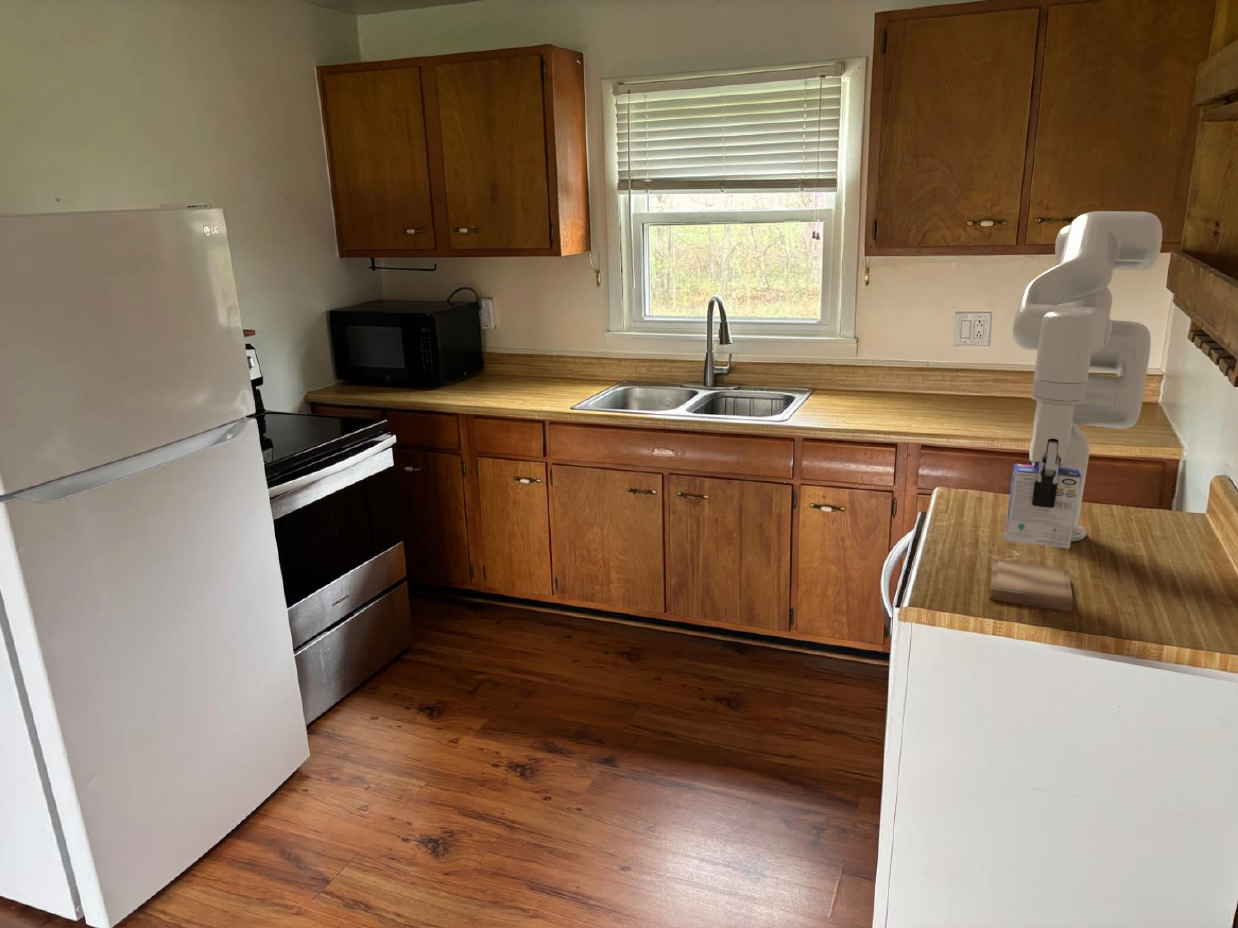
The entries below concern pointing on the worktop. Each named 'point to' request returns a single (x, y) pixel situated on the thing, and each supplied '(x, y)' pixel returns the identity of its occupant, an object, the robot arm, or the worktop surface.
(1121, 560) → the worktop surface
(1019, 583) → the board
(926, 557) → the worktop surface
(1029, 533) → the ink cartridge box
